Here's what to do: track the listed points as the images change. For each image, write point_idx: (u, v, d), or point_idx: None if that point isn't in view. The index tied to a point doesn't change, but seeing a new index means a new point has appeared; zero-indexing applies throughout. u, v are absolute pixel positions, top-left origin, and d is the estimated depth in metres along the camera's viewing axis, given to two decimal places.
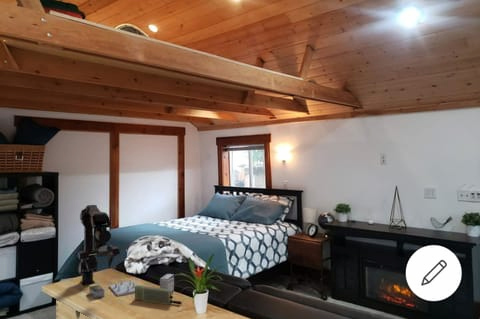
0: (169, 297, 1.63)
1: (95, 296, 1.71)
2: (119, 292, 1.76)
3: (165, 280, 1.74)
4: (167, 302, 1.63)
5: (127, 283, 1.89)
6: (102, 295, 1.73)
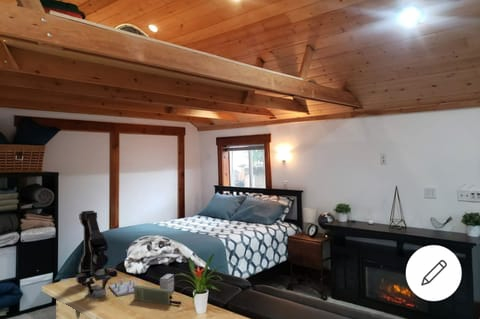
0: (169, 297, 1.63)
1: (97, 295, 1.71)
2: (119, 292, 1.76)
3: (165, 280, 1.74)
4: (167, 302, 1.63)
5: (127, 283, 1.89)
6: (104, 294, 1.73)
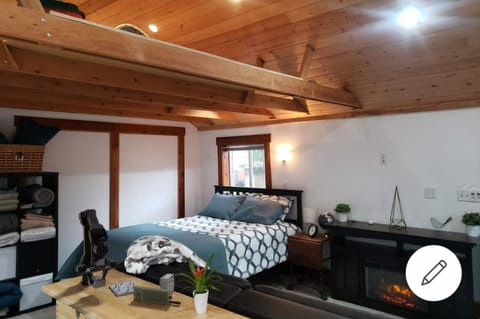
0: (168, 297, 1.63)
1: (97, 285, 1.71)
2: (119, 292, 1.76)
3: (165, 280, 1.74)
4: (166, 302, 1.63)
5: (127, 283, 1.89)
6: (104, 284, 1.73)
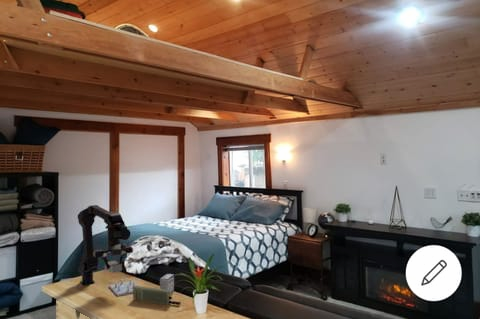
0: (168, 298, 1.63)
1: (113, 270, 1.75)
2: (119, 292, 1.76)
3: (165, 280, 1.74)
4: (166, 303, 1.63)
5: (127, 283, 1.89)
6: (120, 269, 1.78)
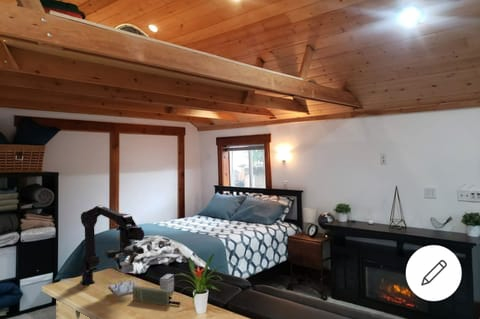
0: (168, 298, 1.63)
1: (126, 270, 1.79)
2: (119, 292, 1.76)
3: (165, 280, 1.74)
4: (166, 303, 1.63)
5: (127, 283, 1.89)
6: (131, 269, 1.81)
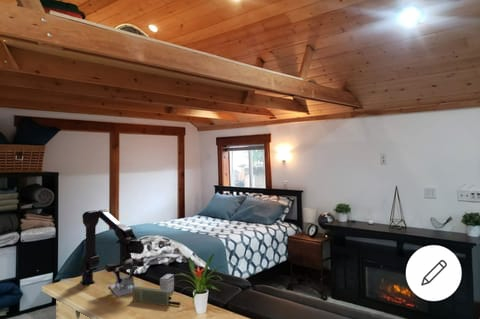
0: (168, 298, 1.62)
1: (126, 284, 1.79)
2: (119, 292, 1.76)
3: (165, 280, 1.74)
4: (166, 303, 1.62)
5: None
6: (131, 283, 1.81)
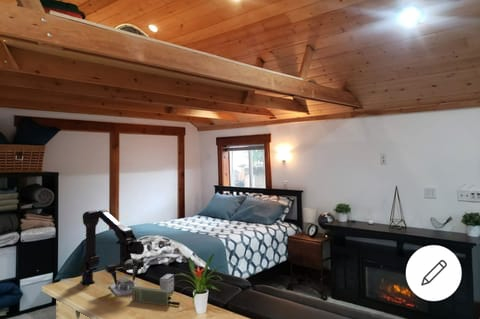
0: (167, 298, 1.62)
1: (125, 287, 1.79)
2: (119, 292, 1.76)
3: (165, 280, 1.74)
4: (165, 303, 1.62)
5: None
6: (131, 286, 1.81)
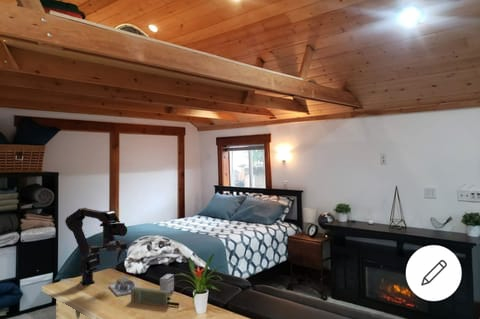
0: (166, 299, 1.62)
1: (125, 287, 1.79)
2: (119, 292, 1.76)
3: (165, 280, 1.74)
4: (164, 304, 1.62)
5: None
6: (131, 286, 1.81)
